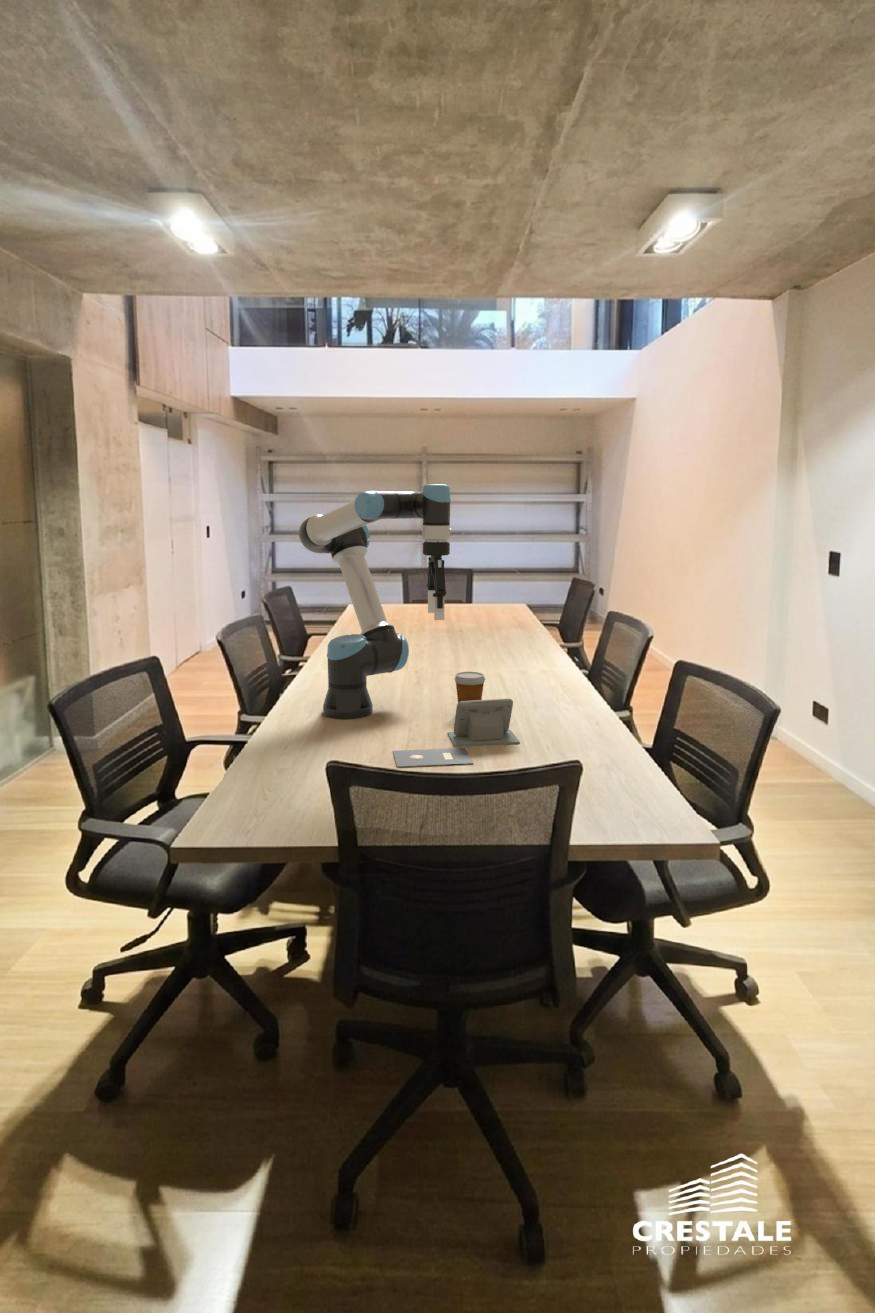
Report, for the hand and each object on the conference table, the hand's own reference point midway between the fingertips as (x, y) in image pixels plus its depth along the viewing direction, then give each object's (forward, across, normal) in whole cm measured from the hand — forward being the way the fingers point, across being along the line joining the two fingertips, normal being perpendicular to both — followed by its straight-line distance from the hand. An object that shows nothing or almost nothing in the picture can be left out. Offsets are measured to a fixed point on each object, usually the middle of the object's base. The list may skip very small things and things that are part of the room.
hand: (435, 616), depth 219 cm
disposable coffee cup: (+32, +10, -12) cm, 36 cm away
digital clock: (+31, -15, -11) cm, 37 cm away
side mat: (+32, -16, -11) cm, 37 cm away
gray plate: (+32, -30, +5) cm, 44 cm away
